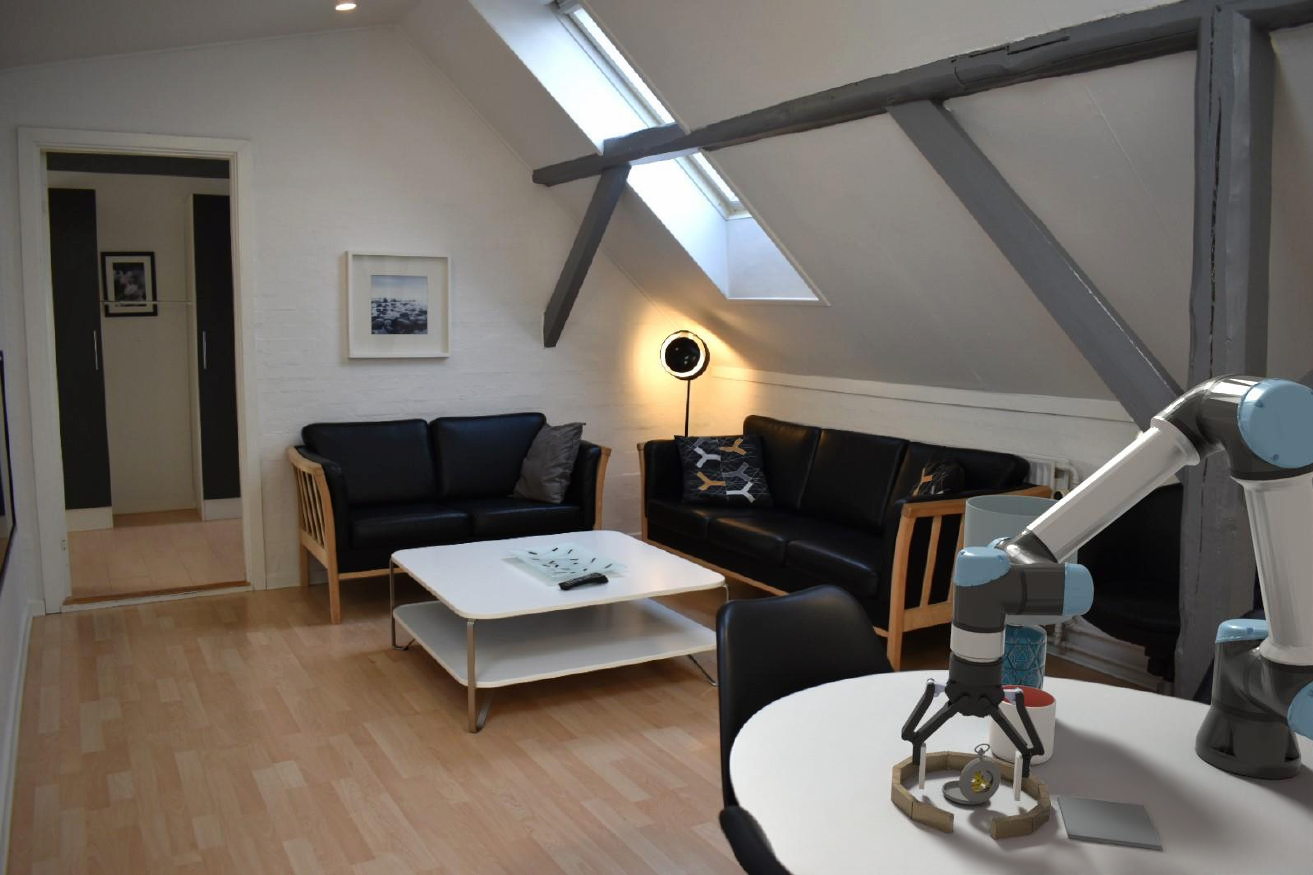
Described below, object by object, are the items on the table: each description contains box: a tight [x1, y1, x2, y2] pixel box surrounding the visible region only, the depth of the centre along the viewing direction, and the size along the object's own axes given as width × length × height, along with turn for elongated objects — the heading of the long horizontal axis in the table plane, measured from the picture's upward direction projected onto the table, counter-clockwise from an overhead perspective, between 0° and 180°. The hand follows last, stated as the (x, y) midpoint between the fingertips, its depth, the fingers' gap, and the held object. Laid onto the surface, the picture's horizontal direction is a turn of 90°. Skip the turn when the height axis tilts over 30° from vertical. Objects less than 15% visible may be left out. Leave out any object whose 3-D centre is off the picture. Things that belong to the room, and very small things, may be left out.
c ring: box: [890, 750, 1052, 840], centre depth 158 cm, size 22×22×2 cm
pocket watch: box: [941, 743, 1002, 805], centre depth 158 cm, size 8×8×10 cm
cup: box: [988, 685, 1057, 766], centre depth 174 cm, size 10×10×10 cm
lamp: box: [963, 494, 1079, 690], centre depth 191 cm, size 19×19×38 cm
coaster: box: [1056, 794, 1163, 851], centre depth 152 cm, size 12×12×1 cm
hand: (968, 791), depth 158 cm, fingers open, 13 cm apart
